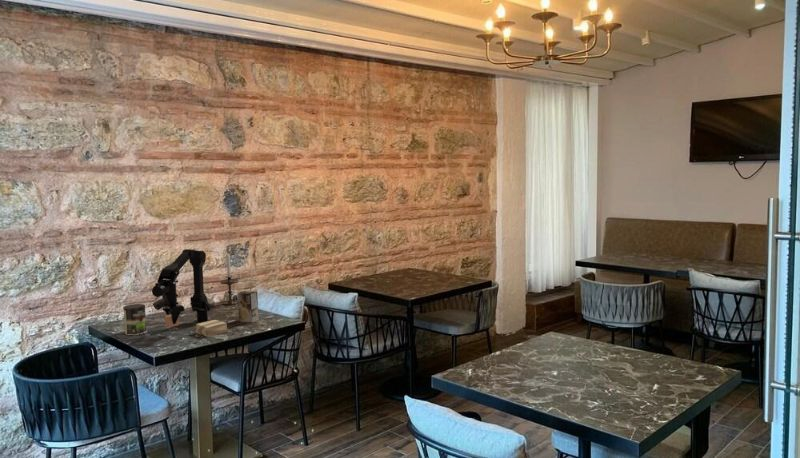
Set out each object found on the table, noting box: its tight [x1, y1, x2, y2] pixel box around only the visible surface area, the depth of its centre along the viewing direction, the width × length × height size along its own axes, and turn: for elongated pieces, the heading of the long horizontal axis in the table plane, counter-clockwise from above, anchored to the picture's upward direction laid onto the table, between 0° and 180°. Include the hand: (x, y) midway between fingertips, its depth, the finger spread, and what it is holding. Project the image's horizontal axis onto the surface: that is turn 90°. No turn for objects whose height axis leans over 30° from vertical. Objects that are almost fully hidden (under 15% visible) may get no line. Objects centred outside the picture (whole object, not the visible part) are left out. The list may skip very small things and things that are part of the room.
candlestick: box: [219, 248, 239, 306], centre depth 358 cm, size 11×11×35 cm
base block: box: [195, 319, 228, 338], centre depth 297 cm, size 11×11×5 cm
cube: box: [164, 314, 180, 328], centre depth 292 cm, size 5×5×5 cm
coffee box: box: [237, 290, 260, 323], centre depth 318 cm, size 9×6×16 cm
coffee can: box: [123, 303, 148, 336], centre depth 297 cm, size 10×10×14 cm
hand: (172, 322), depth 292 cm, fingers closed on cube, 5 cm apart
